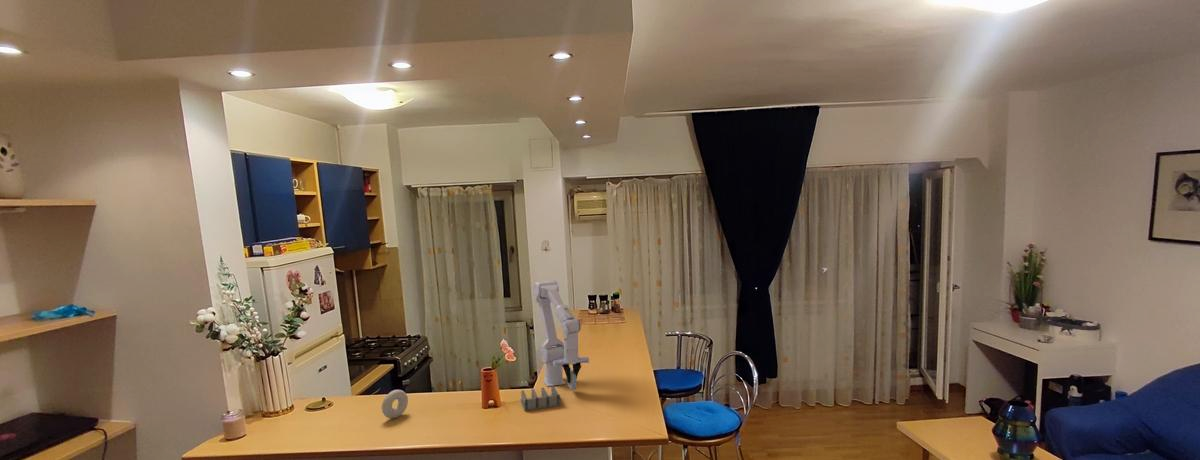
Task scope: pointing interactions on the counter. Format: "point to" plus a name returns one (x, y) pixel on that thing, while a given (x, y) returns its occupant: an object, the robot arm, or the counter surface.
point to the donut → (388, 402)
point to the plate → (572, 380)
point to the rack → (540, 400)
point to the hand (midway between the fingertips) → (571, 381)
